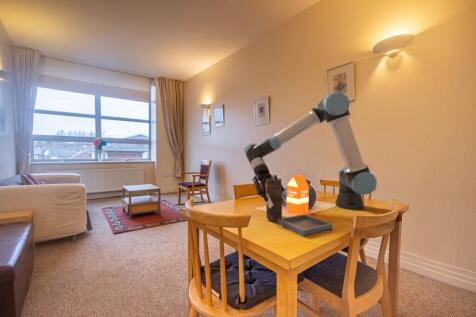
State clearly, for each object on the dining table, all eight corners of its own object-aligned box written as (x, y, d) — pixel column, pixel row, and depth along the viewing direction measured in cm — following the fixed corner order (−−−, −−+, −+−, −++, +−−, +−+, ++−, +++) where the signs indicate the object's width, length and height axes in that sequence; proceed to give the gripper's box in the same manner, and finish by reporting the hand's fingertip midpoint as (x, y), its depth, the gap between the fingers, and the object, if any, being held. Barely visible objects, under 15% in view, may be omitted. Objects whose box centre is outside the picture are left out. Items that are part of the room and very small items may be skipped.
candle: (262, 219, 108) (263, 177, 107) (272, 216, 113) (273, 176, 112) (275, 223, 102) (275, 179, 101) (285, 220, 107) (285, 178, 106)
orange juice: (308, 212, 119) (309, 175, 118) (298, 216, 113) (298, 176, 112) (296, 209, 125) (296, 173, 124) (286, 212, 120) (286, 175, 119)
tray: (305, 219, 109) (305, 213, 108) (332, 229, 94) (332, 224, 94) (278, 224, 101) (278, 218, 101) (303, 236, 87) (303, 230, 87)
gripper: (272, 171, 125) (291, 207, 111) (240, 173, 116) (257, 212, 102) (278, 162, 120) (299, 199, 106) (245, 164, 111) (263, 204, 97)
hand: (278, 205), depth 104 cm, fingers closed on candle, 7 cm apart
